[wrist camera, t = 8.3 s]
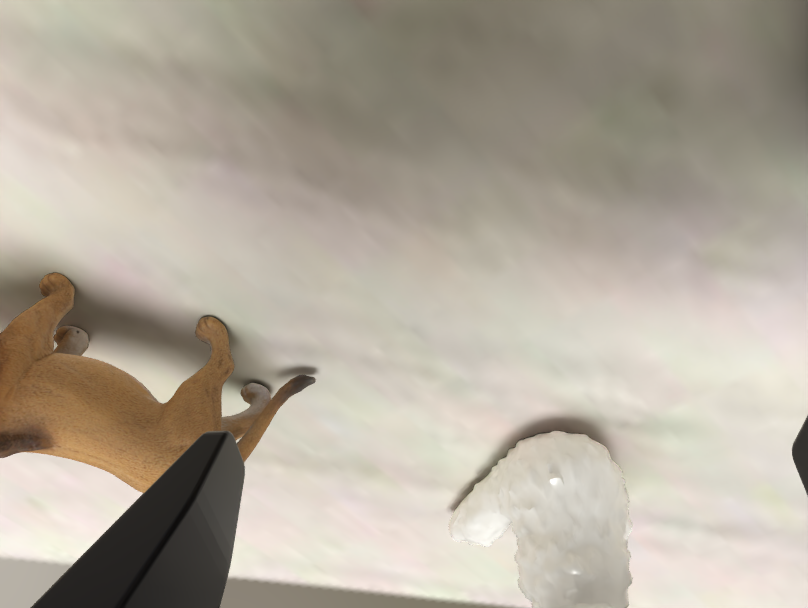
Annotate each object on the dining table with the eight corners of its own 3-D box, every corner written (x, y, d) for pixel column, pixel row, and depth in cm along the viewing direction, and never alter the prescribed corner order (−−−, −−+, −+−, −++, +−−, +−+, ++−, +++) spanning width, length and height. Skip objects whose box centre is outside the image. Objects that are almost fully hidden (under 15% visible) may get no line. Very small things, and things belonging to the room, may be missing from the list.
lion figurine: (-24, 347, 24) (-214, 540, 17) (-53, 245, 21) (-301, 426, 14) (309, 408, 26) (267, 606, 19) (327, 322, 23) (285, 518, 16)
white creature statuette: (446, 516, 31) (459, 798, 21) (460, 409, 26) (485, 716, 16) (616, 521, 31) (707, 807, 21) (663, 415, 26) (811, 727, 16)
